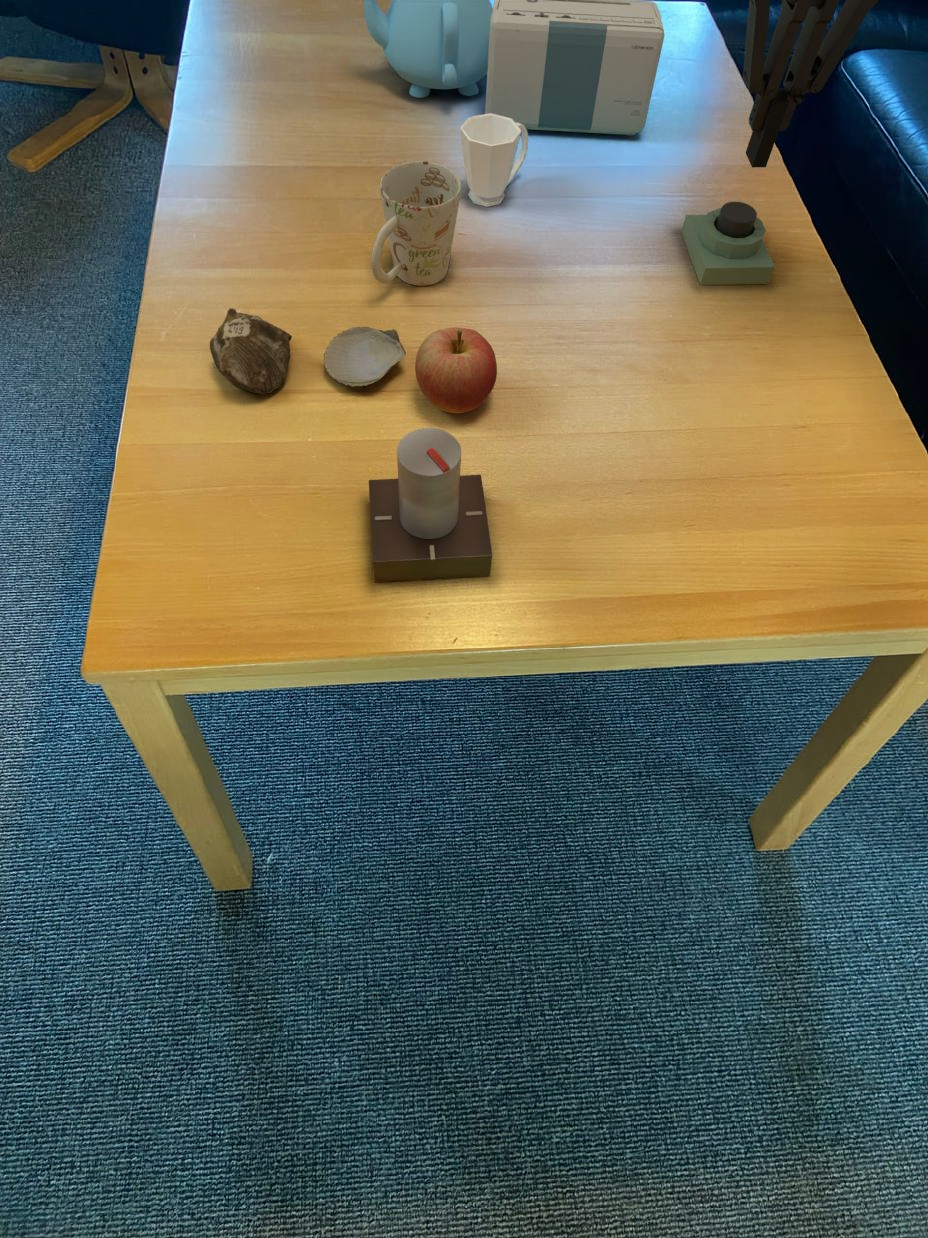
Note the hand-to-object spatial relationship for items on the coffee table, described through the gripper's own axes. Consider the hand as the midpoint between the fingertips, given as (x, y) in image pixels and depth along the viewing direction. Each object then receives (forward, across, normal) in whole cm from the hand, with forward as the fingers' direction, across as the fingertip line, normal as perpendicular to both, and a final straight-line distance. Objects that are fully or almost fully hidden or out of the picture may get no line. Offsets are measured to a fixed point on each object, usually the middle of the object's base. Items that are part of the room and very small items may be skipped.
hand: (755, 159), depth 87 cm
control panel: (+11, +37, +40) cm, 55 cm away
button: (+8, 0, 0) cm, 8 cm away
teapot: (+12, +30, -41) cm, 52 cm away
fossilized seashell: (+12, +53, +17) cm, 57 cm away
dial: (+8, +37, +40) cm, 55 cm away
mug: (+12, +37, +3) cm, 39 cm away
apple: (+11, +33, +22) cm, 42 cm away
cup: (+12, +26, -13) cm, 31 cm away
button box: (+11, 0, 0) cm, 11 cm away
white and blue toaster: (+12, +15, -29) cm, 35 cm away
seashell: (+11, +42, +18) cm, 47 cm away
